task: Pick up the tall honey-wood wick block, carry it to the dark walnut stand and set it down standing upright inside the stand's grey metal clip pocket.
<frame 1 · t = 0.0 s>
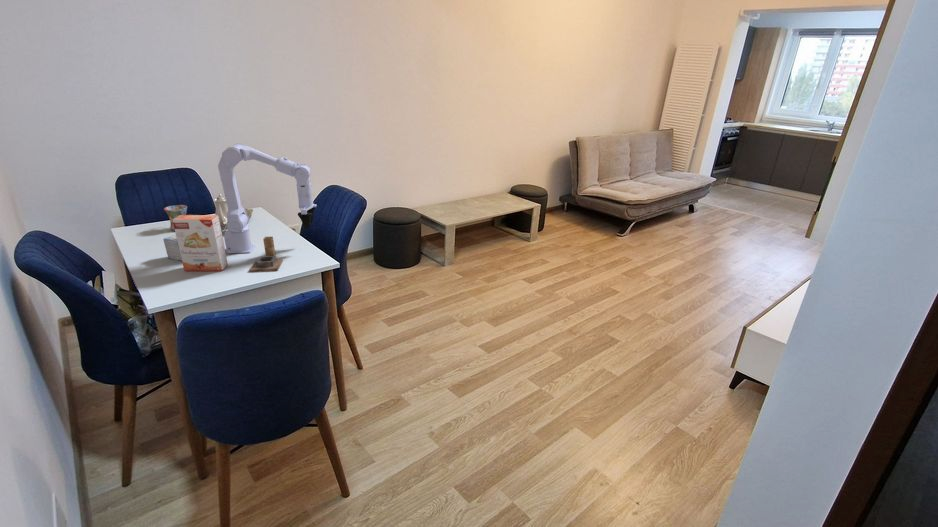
hand: (308, 225, 192), 10 cm above the table, tool pointing down, fingers open, 7 cm apart
chinaware: (232, 227, 220), on the table
cracker box: (206, 269, 173), on the table
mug: (180, 228, 215), on the table
wick block: (270, 255, 187), on the table
medicine box: (180, 258, 182), on the table
clip stand: (267, 266, 177), on the table
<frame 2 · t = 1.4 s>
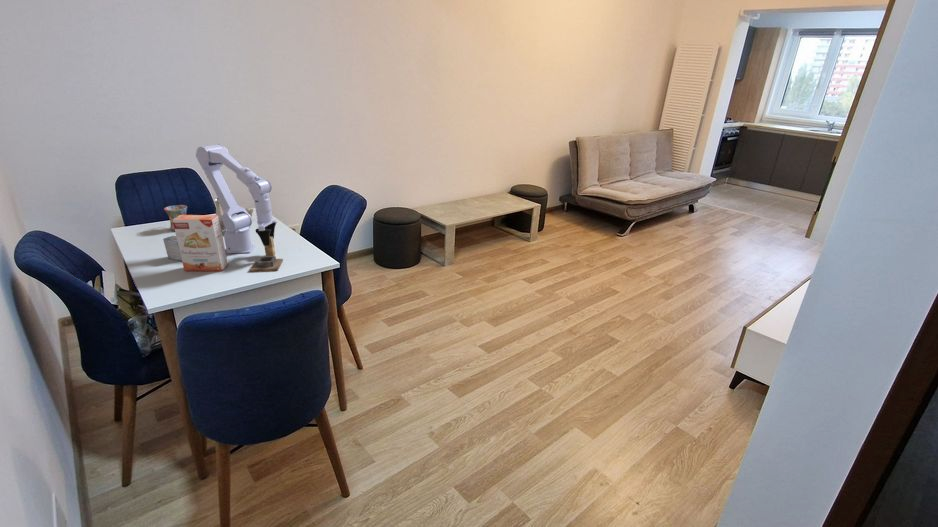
hand: (268, 242, 184), 6 cm above the table, tool pointing down, fingers open, 7 cm apart
nothing on the table moved.
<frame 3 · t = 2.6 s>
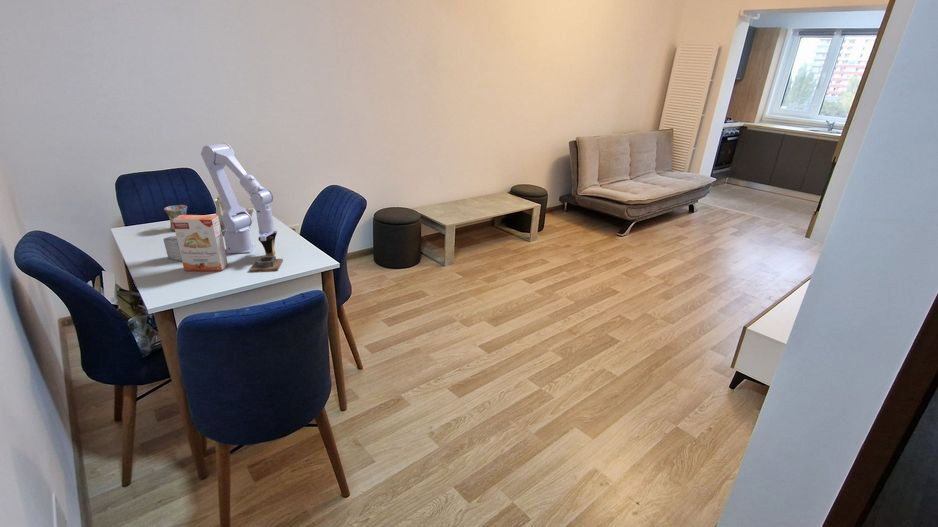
hand: (270, 251, 186), 2 cm above the table, tool pointing down, fingers closed on wick block, 3 cm apart
wick block: (270, 255, 187), on the table, touching gripper
everything else where it was.
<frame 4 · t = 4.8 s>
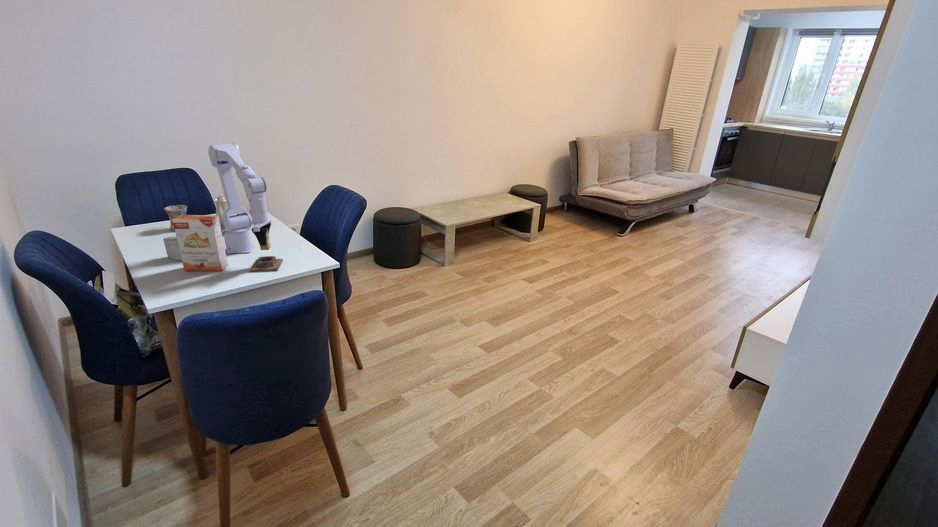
hand: (264, 243, 174), 9 cm above the table, tool pointing down, fingers closed on wick block, 3 cm apart
wick block: (265, 248, 175), point 7 cm above the table, touching gripper
everything else where it was.
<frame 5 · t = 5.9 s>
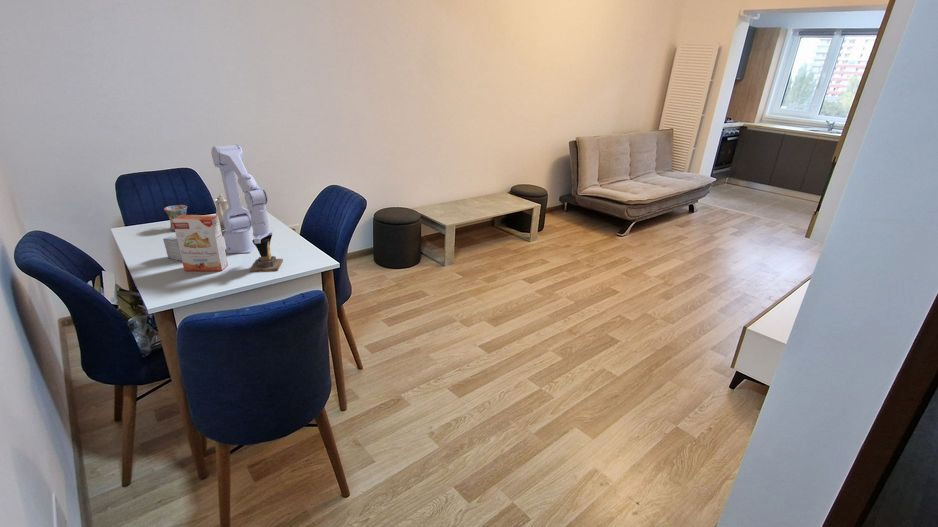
hand: (265, 254, 175), 5 cm above the table, tool pointing down, fingers closed on wick block, 3 cm apart
wick block: (266, 259, 176), point 3 cm above the table, touching gripper
everything else where it was.
when the fingers open (4 cm above the table, at t = 6.8 s): wick block drops 1 cm, resting on clip stand.
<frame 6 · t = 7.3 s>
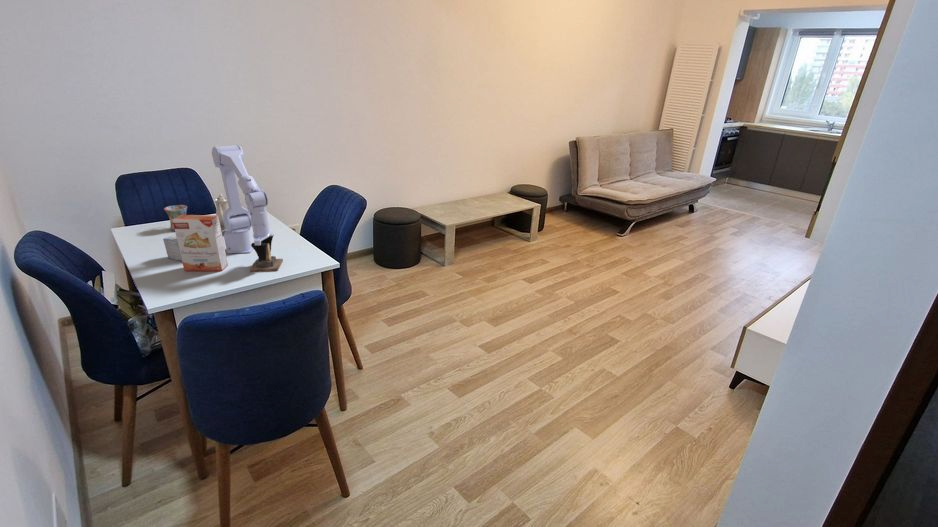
hand: (265, 256, 175), 4 cm above the table, tool pointing down, fingers open, 7 cm apart
wick block: (267, 263, 176), point 1 cm above the table, touching clip stand
everything else where it was.
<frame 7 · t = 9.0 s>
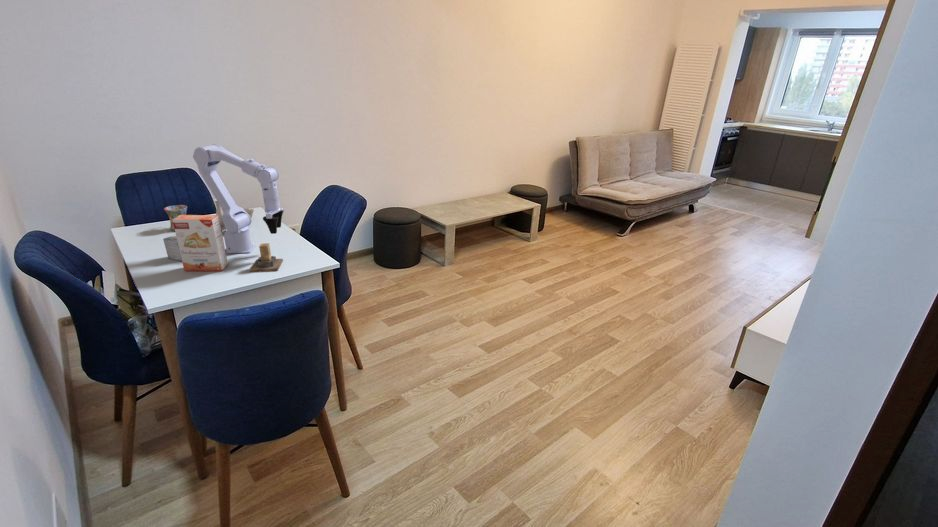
hand: (275, 230, 185), 10 cm above the table, tool pointing down, fingers open, 7 cm apart
nothing on the table moved.
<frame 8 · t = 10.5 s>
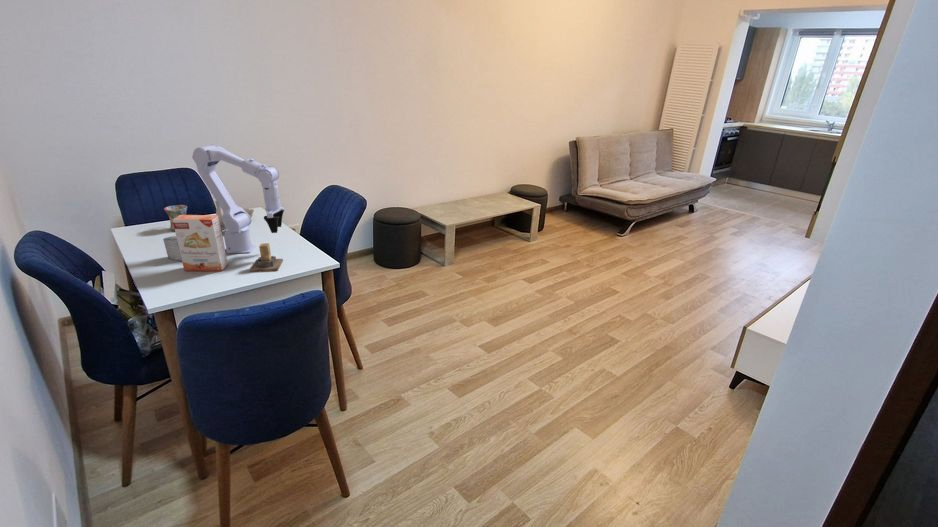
hand: (276, 229, 186), 10 cm above the table, tool pointing down, fingers open, 7 cm apart
nothing on the table moved.
at the end: wick block 0.2 cm off-centre on the clip stand, point 1.0 cm above the clip stand's base; wick block tilted 0°; the gripper is holding nothing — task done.
